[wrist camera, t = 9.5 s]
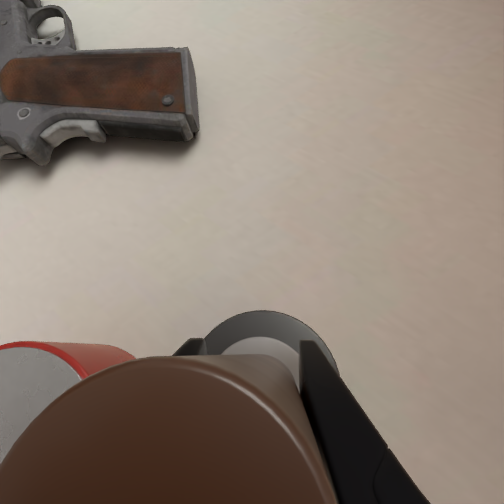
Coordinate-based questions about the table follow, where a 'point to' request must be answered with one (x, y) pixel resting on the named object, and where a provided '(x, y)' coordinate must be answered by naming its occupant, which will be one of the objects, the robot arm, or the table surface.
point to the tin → (43, 379)
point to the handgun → (85, 88)
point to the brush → (181, 428)
